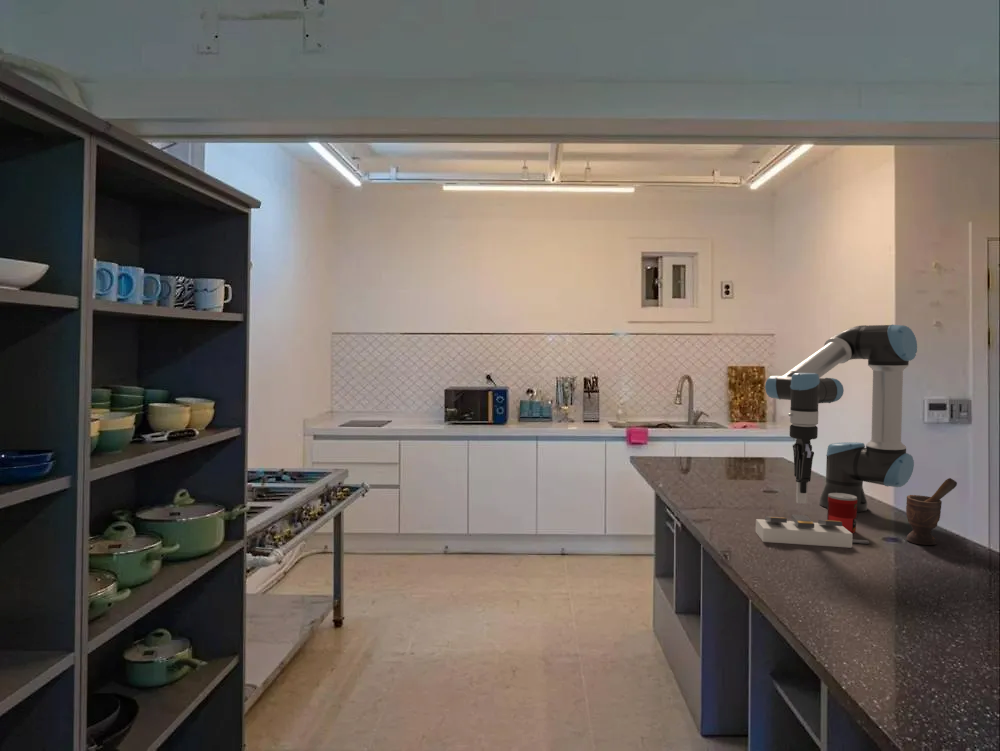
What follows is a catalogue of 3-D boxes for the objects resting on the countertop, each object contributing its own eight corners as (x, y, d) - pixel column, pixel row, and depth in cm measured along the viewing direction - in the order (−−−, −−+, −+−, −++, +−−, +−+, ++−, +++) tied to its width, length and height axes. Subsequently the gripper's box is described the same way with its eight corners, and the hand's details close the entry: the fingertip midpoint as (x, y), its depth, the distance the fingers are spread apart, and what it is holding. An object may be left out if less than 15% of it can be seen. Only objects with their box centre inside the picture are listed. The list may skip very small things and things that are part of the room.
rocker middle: (807, 519, 191) (807, 515, 191) (814, 528, 184) (814, 523, 184) (791, 518, 192) (791, 514, 191) (797, 527, 185) (798, 522, 185)
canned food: (859, 534, 194) (861, 499, 193) (831, 533, 195) (832, 497, 195) (850, 527, 201) (852, 493, 200) (823, 526, 203) (825, 491, 202)
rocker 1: (780, 521, 192) (780, 516, 192) (786, 522, 185) (786, 518, 185) (765, 520, 193) (765, 515, 193) (770, 521, 186) (770, 517, 186)
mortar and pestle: (945, 540, 189) (948, 474, 188) (956, 549, 181) (960, 480, 180) (900, 536, 192) (904, 471, 191) (909, 545, 184) (913, 477, 183)
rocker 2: (834, 524, 189) (833, 520, 189) (842, 526, 182) (842, 521, 183) (818, 523, 190) (818, 519, 190) (825, 525, 183) (825, 520, 183)
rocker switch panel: (861, 538, 190) (862, 525, 189) (874, 549, 180) (875, 535, 180) (755, 531, 195) (755, 518, 195) (762, 541, 185) (763, 528, 185)
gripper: (784, 421, 196) (782, 496, 198) (796, 427, 183) (794, 508, 185) (810, 422, 195) (808, 497, 196) (824, 428, 182) (821, 509, 183)
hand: (801, 502), depth 190 cm, fingers closed
